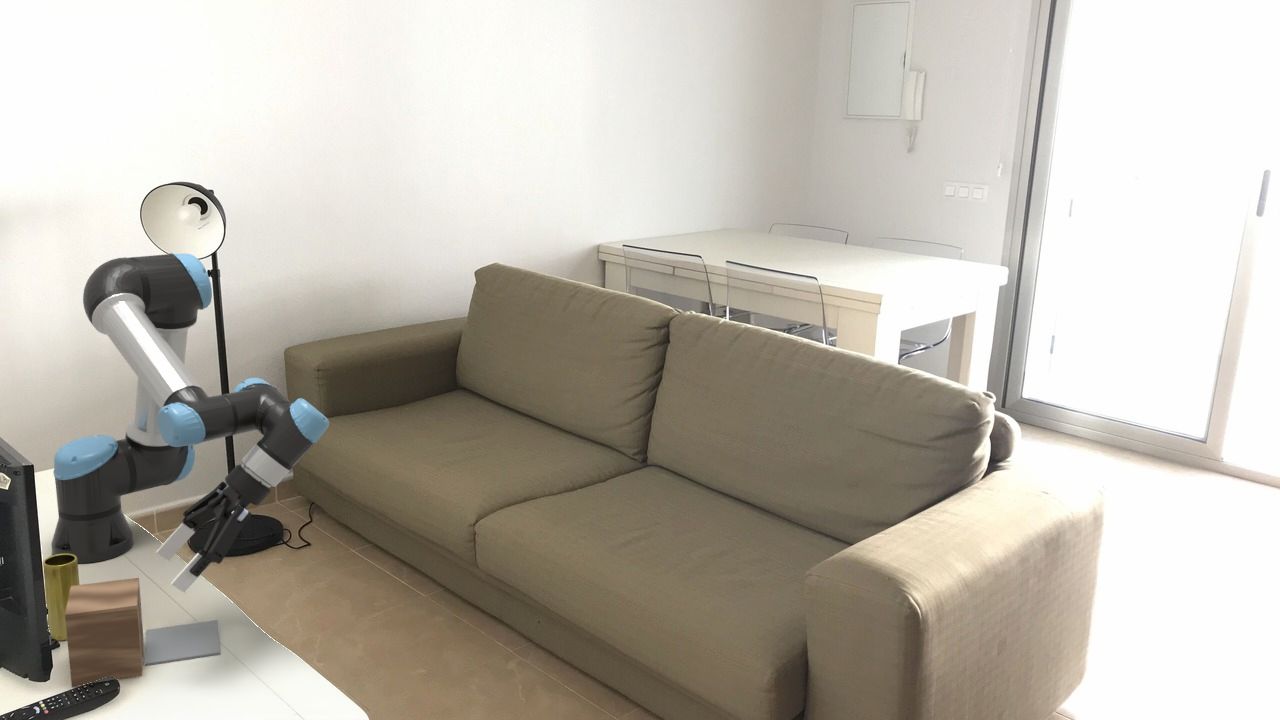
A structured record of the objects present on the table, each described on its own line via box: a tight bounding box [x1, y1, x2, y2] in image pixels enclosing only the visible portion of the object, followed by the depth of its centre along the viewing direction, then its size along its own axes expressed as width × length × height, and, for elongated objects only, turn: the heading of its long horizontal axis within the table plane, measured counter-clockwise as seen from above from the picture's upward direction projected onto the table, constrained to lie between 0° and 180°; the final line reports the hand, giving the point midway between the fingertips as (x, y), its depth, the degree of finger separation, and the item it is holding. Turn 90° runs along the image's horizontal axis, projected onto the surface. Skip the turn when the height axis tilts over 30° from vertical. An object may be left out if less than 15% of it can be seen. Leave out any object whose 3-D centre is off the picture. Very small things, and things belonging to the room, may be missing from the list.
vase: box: [42, 553, 81, 642], centre depth 181 cm, size 6×6×14 cm
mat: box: [143, 619, 221, 667], centre depth 182 cm, size 12×12×1 cm
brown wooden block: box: [65, 577, 145, 688], centre depth 172 cm, size 10×10×13 cm
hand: (169, 571), depth 175 cm, fingers open, 13 cm apart
